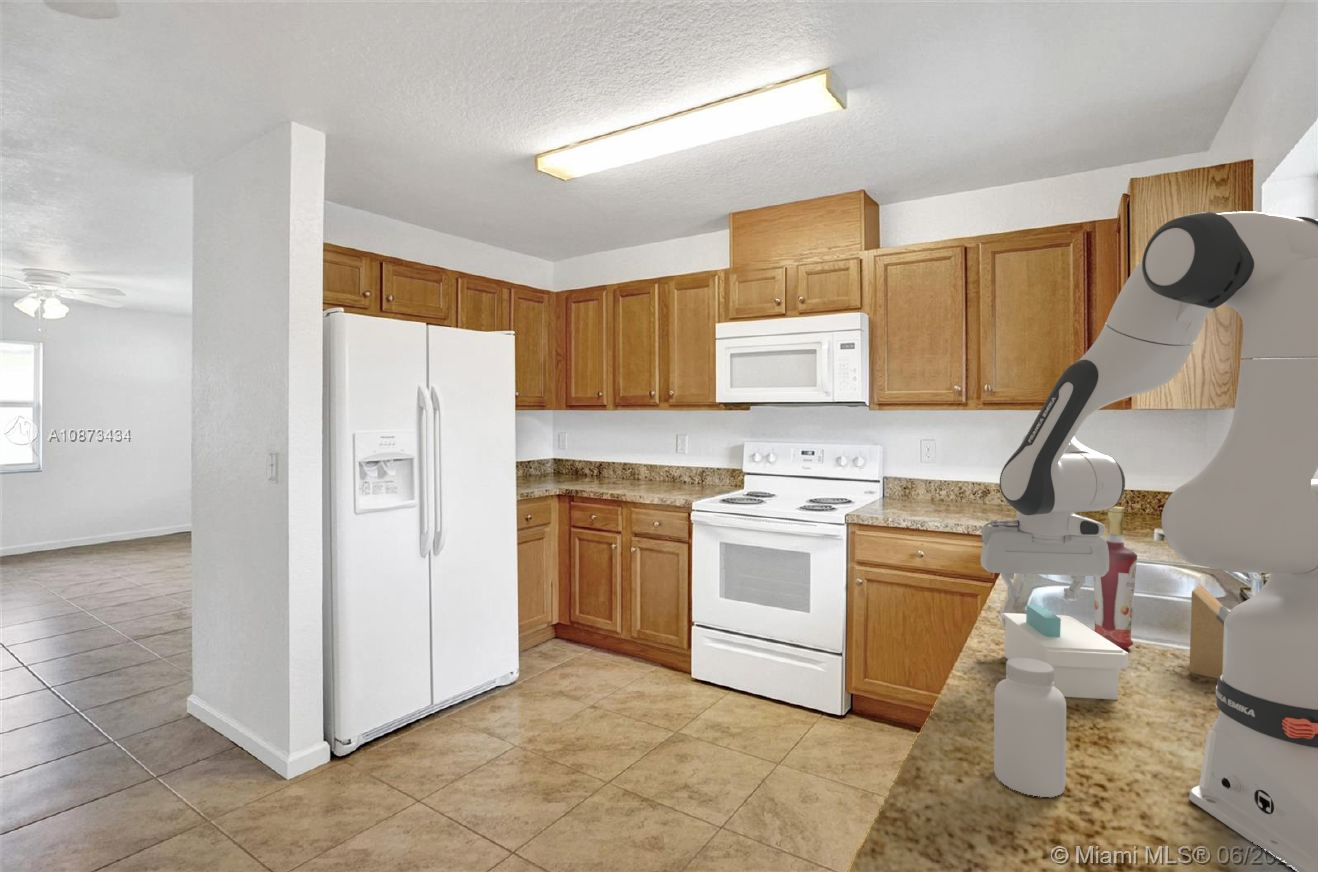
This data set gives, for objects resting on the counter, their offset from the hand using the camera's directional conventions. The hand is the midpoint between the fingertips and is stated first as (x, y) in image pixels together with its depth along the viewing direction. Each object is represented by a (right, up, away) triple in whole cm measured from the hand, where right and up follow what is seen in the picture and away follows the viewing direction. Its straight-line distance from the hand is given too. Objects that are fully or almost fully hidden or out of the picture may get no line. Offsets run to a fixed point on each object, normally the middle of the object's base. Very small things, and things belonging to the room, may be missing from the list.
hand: (1041, 598), depth 119 cm
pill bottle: (-21, -15, -34) cm, 43 cm away
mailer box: (+2, -14, 0) cm, 14 cm away
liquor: (+23, -14, +15) cm, 30 cm away
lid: (+3, -8, -1) cm, 9 cm away
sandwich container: (+36, -14, -1) cm, 39 cm away
